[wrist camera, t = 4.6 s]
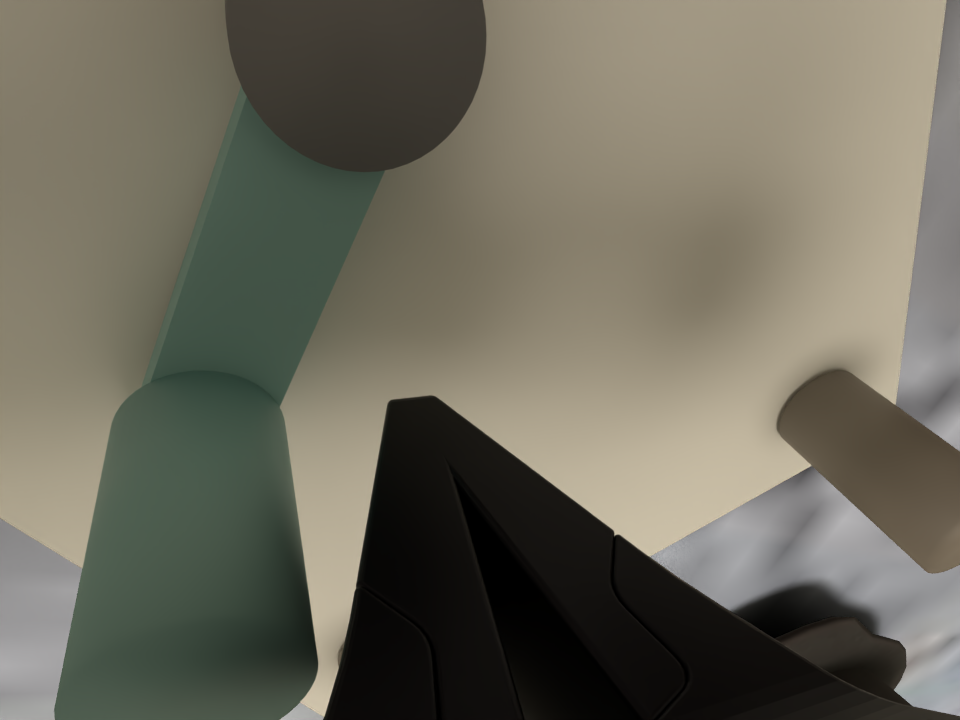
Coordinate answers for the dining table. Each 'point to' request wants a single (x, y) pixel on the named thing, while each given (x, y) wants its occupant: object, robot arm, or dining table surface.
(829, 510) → the dining table surface
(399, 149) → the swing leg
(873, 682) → the casserole
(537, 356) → the cream square peg board
